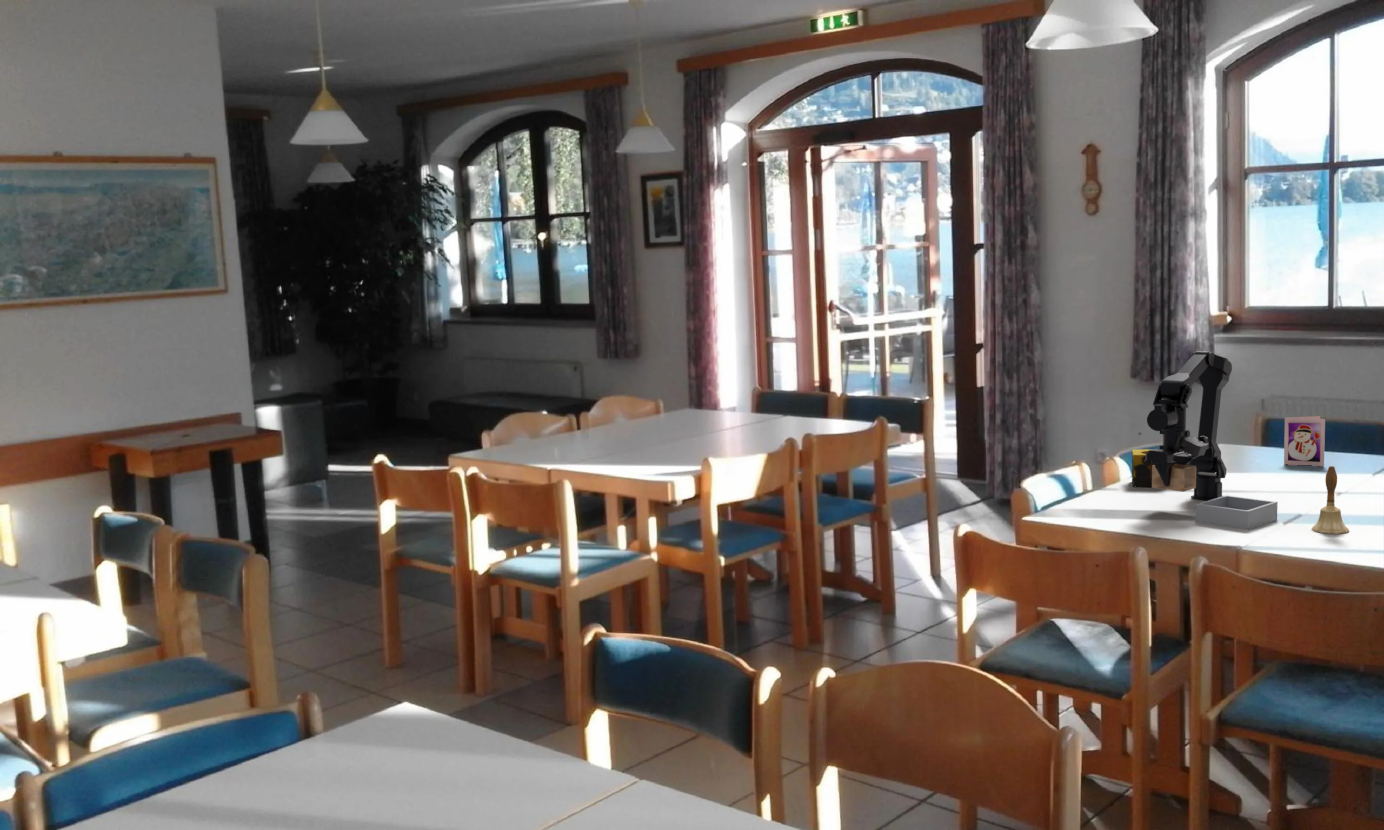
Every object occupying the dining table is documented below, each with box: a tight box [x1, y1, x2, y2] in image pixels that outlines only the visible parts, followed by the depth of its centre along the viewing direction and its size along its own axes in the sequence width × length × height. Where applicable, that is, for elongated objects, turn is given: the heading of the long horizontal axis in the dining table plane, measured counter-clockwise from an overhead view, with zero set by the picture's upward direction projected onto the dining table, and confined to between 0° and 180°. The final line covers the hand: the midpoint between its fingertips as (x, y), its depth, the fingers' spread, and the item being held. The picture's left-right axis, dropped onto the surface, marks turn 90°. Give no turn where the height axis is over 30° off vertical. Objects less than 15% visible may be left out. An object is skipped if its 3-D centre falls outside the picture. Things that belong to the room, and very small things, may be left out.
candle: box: [1131, 448, 1154, 489], centre depth 386 cm, size 10×10×10 cm
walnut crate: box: [1152, 464, 1196, 493], centre depth 348 cm, size 9×6×6 cm
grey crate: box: [1195, 494, 1278, 531], centre depth 334 cm, size 14×15×5 cm
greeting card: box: [1283, 415, 1326, 467], centre depth 408 cm, size 11×7×15 cm, turn 58°
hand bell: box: [1311, 465, 1350, 535], centre depth 319 cm, size 8×8×16 cm
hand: (1173, 484), depth 348 cm, fingers closed on walnut crate, 6 cm apart
